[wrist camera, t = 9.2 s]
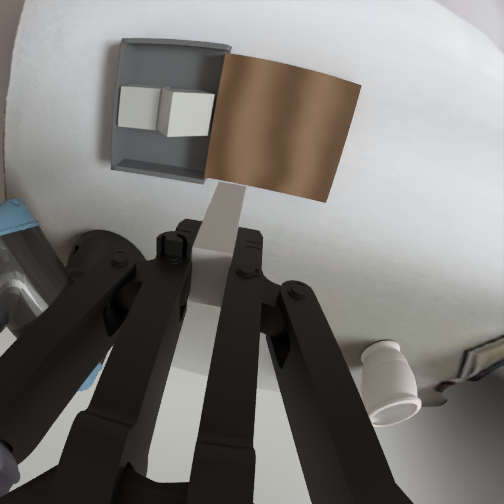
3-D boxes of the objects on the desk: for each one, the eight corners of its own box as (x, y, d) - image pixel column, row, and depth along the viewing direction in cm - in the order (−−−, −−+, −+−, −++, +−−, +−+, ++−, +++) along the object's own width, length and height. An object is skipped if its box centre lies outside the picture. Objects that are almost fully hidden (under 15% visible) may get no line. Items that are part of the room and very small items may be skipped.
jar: (365, 372, 62) (376, 431, 50) (347, 350, 58) (358, 416, 45) (409, 353, 58) (426, 412, 46) (396, 328, 54) (415, 393, 41)
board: (209, 167, 39) (204, 177, 36) (230, 54, 31) (225, 53, 28) (322, 191, 40) (325, 202, 37) (353, 83, 32) (361, 85, 29)
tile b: (156, 129, 33) (167, 136, 31) (161, 88, 30) (173, 92, 28) (194, 128, 36) (207, 135, 34) (200, 89, 33) (214, 94, 31)
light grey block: (155, 130, 33) (165, 124, 36) (160, 89, 30) (170, 86, 33) (117, 126, 33) (129, 120, 36) (121, 86, 30) (133, 83, 33)
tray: (122, 161, 39) (110, 169, 36) (133, 39, 30) (121, 38, 27) (208, 174, 40) (203, 184, 37) (231, 46, 30) (227, 44, 28)
